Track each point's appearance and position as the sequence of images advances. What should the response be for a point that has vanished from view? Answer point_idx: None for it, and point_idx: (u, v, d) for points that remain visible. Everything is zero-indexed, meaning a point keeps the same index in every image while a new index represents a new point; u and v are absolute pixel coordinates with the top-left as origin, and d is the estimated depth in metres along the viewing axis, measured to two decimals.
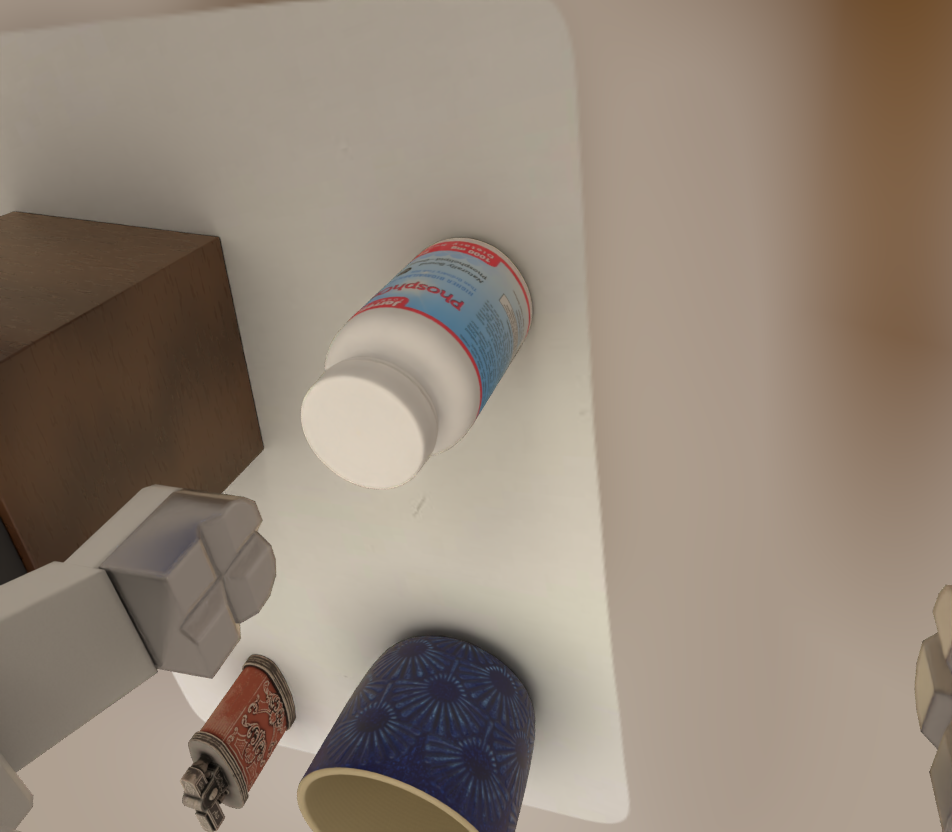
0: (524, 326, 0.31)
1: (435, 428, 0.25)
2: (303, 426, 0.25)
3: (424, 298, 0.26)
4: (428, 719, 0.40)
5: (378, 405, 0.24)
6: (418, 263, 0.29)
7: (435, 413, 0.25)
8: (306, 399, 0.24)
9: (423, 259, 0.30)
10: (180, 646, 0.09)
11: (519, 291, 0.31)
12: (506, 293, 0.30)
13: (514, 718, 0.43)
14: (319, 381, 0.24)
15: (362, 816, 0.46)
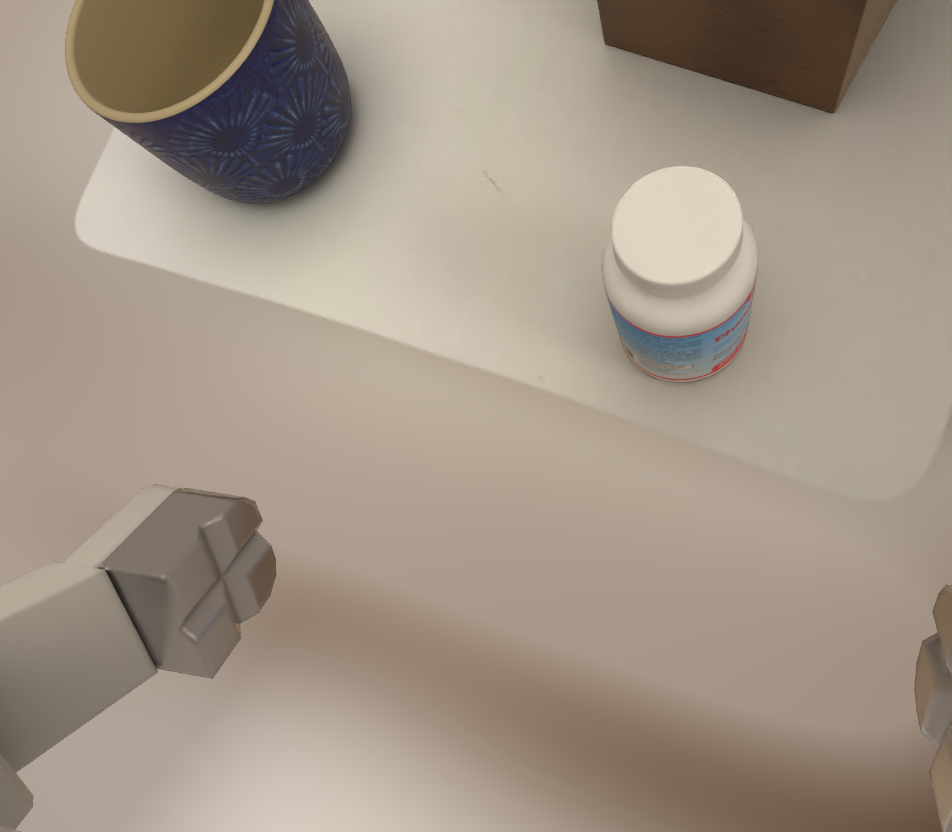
0: (650, 369, 0.35)
1: (649, 291, 0.27)
2: (702, 170, 0.26)
3: (740, 314, 0.29)
4: (288, 104, 0.38)
5: (701, 256, 0.26)
6: None
7: (660, 295, 0.27)
8: (728, 189, 0.26)
9: None
10: (180, 646, 0.09)
11: (681, 377, 0.35)
12: (691, 369, 0.33)
13: (248, 185, 0.41)
14: (741, 210, 0.26)
15: None
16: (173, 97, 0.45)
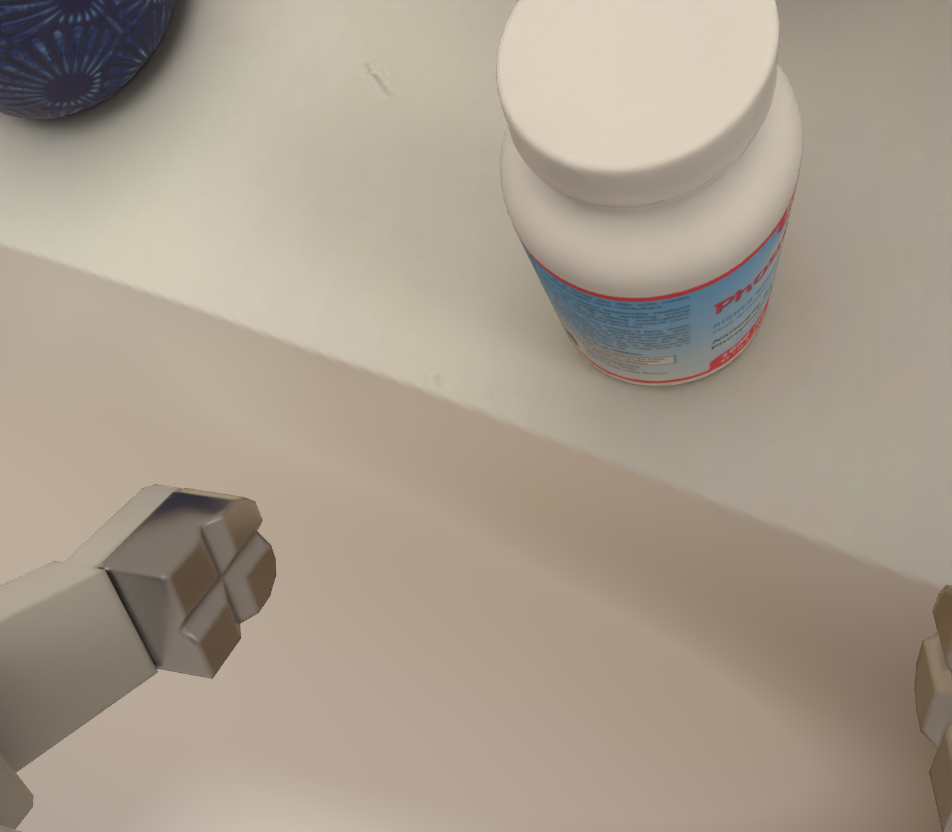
0: (605, 364, 0.21)
1: (577, 196, 0.13)
2: None
3: (764, 258, 0.15)
4: None
5: (685, 109, 0.11)
6: None
7: (601, 207, 0.13)
8: None
9: None
10: (180, 646, 0.09)
11: (657, 378, 0.20)
12: (673, 364, 0.19)
13: (5, 83, 0.27)
14: (775, 6, 0.11)
15: None
16: None
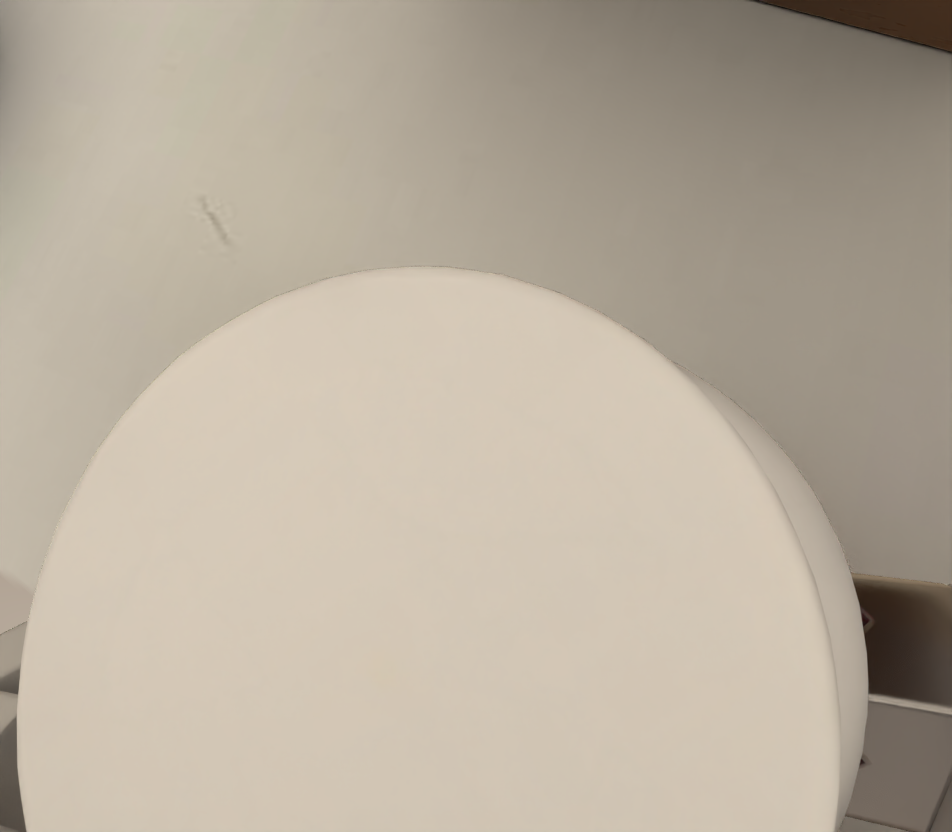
0: None
1: None
2: (551, 306, 0.04)
3: None
4: None
5: None
6: None
7: None
8: (729, 462, 0.04)
9: None
10: None
11: None
12: None
13: None
14: (827, 641, 0.03)
15: None
16: None
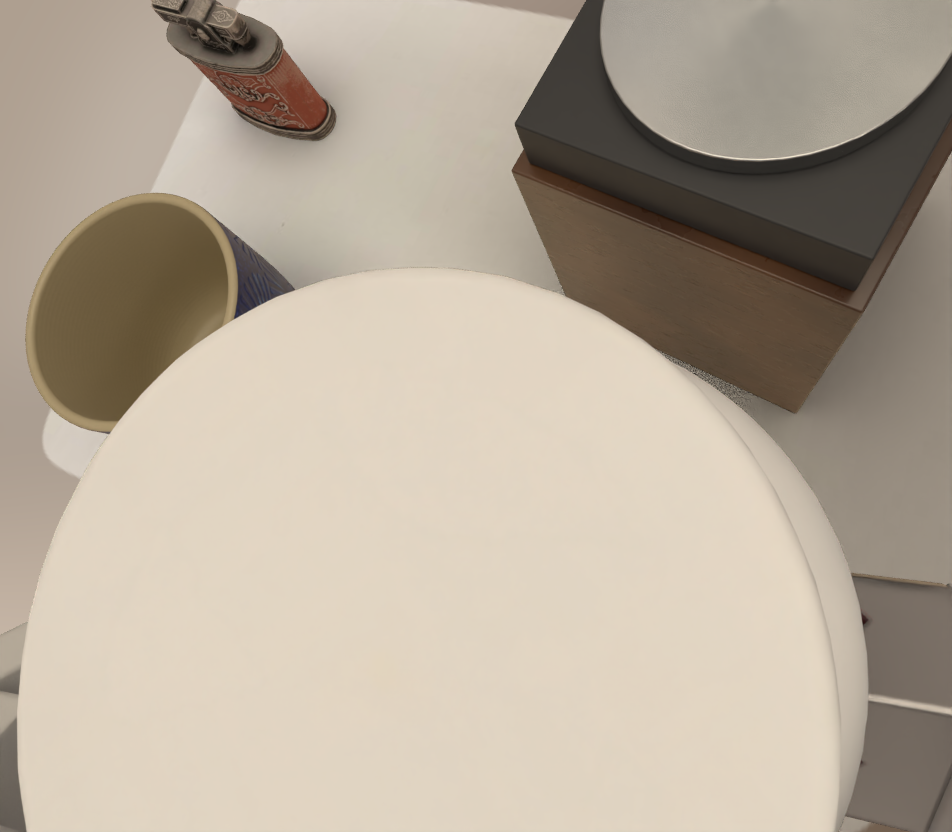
0: None
1: None
2: (551, 307, 0.04)
3: None
4: None
5: None
6: None
7: None
8: (730, 464, 0.03)
9: None
10: None
11: None
12: None
13: None
14: (828, 643, 0.03)
15: (142, 234, 0.40)
16: (140, 339, 0.44)
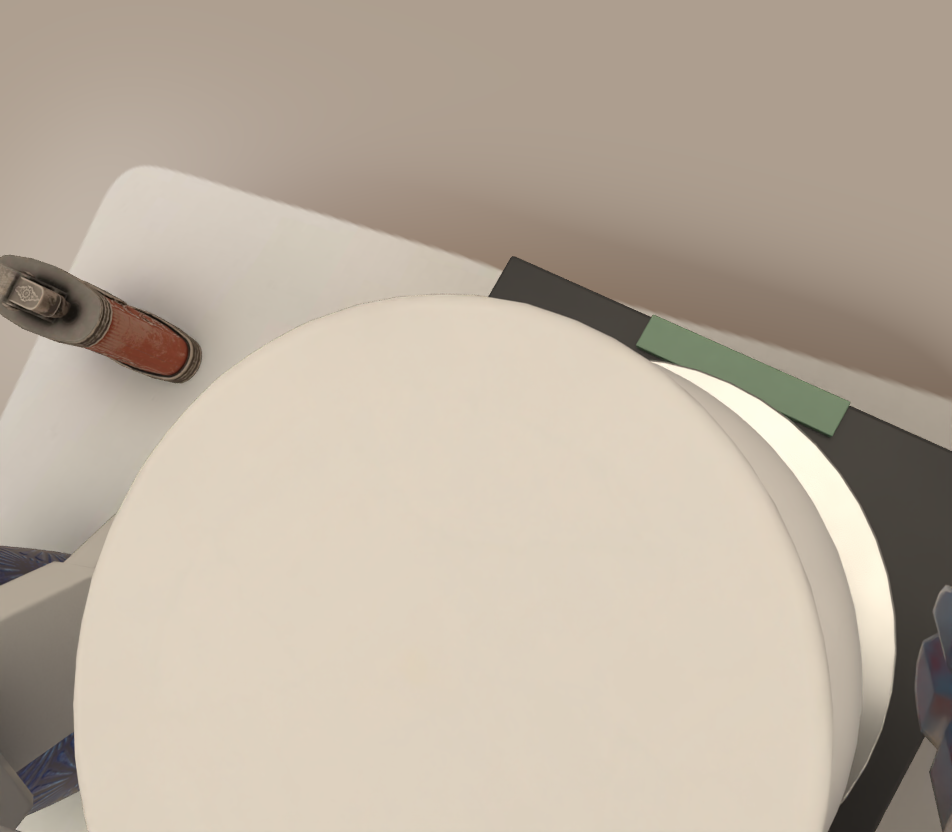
0: None
1: None
2: (570, 333, 0.04)
3: None
4: (46, 784, 0.30)
5: None
6: None
7: None
8: (733, 478, 0.04)
9: None
10: None
11: None
12: None
13: None
14: (822, 643, 0.04)
15: None
16: None
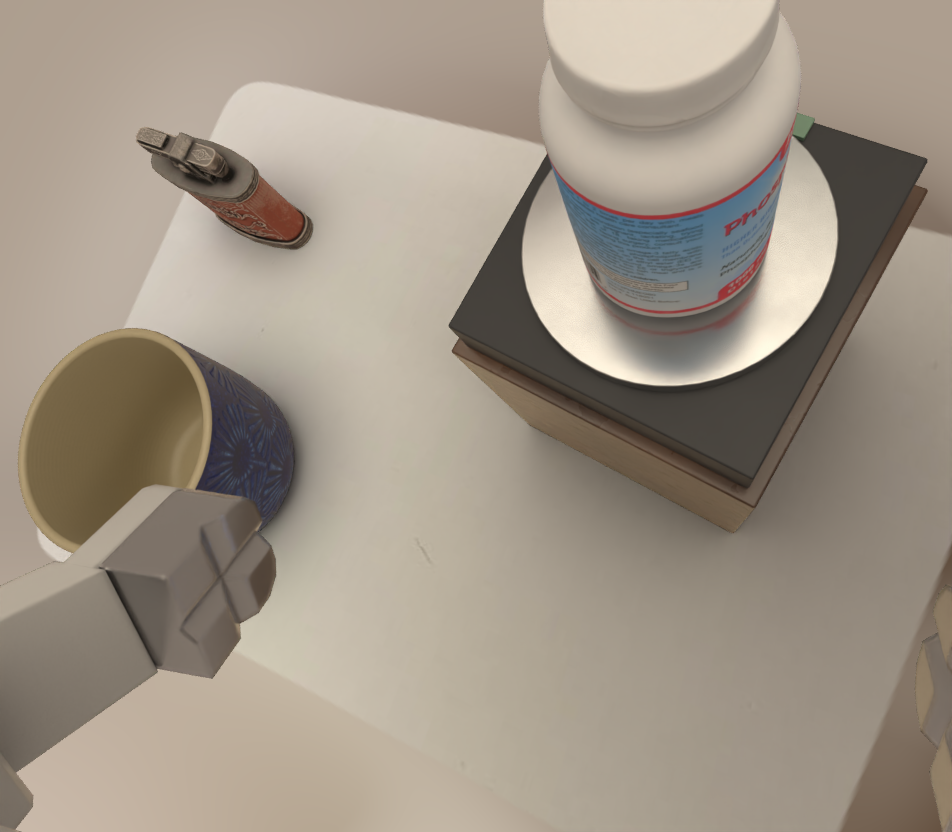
0: (624, 295, 0.23)
1: (611, 118, 0.15)
2: None
3: (768, 183, 0.18)
4: None
5: (704, 39, 0.14)
6: None
7: (631, 128, 0.15)
8: None
9: None
10: (180, 646, 0.09)
11: (670, 307, 0.23)
12: (686, 291, 0.22)
13: None
14: None
15: (126, 358, 0.43)
16: (127, 446, 0.47)
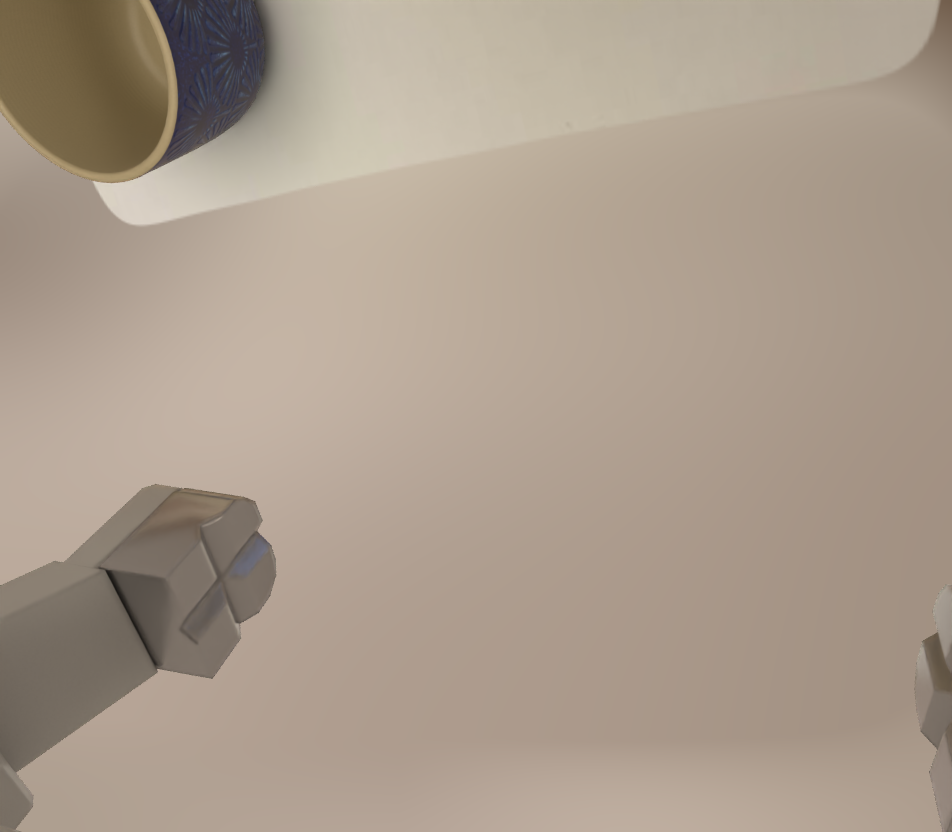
0: None
1: None
2: None
3: None
4: (216, 53, 0.38)
5: None
6: None
7: None
8: None
9: None
10: (180, 646, 0.09)
11: None
12: None
13: (231, 123, 0.43)
14: None
15: None
16: (98, 78, 0.45)
